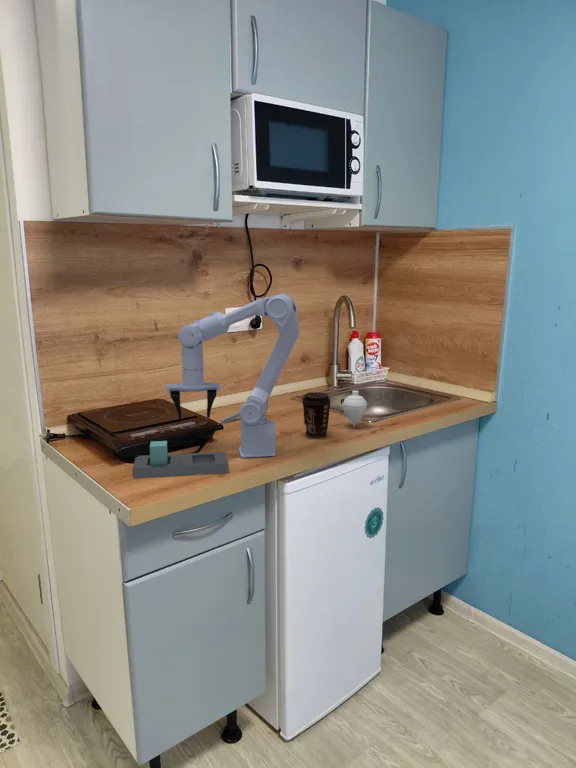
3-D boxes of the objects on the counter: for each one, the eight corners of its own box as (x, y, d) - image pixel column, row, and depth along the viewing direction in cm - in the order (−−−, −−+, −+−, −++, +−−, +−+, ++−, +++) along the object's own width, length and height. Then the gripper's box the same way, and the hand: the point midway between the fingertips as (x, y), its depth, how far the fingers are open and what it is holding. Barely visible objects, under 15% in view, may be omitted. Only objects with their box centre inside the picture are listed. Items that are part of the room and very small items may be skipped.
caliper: (263, 413, 196) (263, 395, 195) (265, 413, 195) (265, 396, 194) (217, 425, 182) (217, 406, 180) (219, 425, 181) (219, 406, 180)
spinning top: (338, 429, 177) (339, 392, 175) (346, 423, 184) (348, 387, 181) (361, 432, 174) (363, 394, 171) (369, 426, 181) (371, 389, 178)
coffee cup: (307, 430, 175) (308, 390, 173) (333, 433, 172) (334, 392, 170) (297, 438, 167) (298, 396, 165) (324, 442, 164) (325, 399, 162)
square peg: (168, 466, 144) (167, 440, 143) (167, 472, 140) (166, 445, 139) (152, 467, 143) (150, 441, 142) (151, 473, 140) (149, 446, 138)
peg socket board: (226, 460, 149) (226, 451, 148) (228, 472, 140) (228, 463, 140) (136, 465, 145) (136, 455, 145) (133, 478, 136) (132, 468, 136)
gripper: (219, 365, 157) (219, 412, 160) (165, 366, 155) (167, 414, 158) (220, 370, 150) (221, 419, 153) (164, 371, 148) (166, 421, 151)
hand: (194, 417), depth 155 cm, fingers open, 7 cm apart
